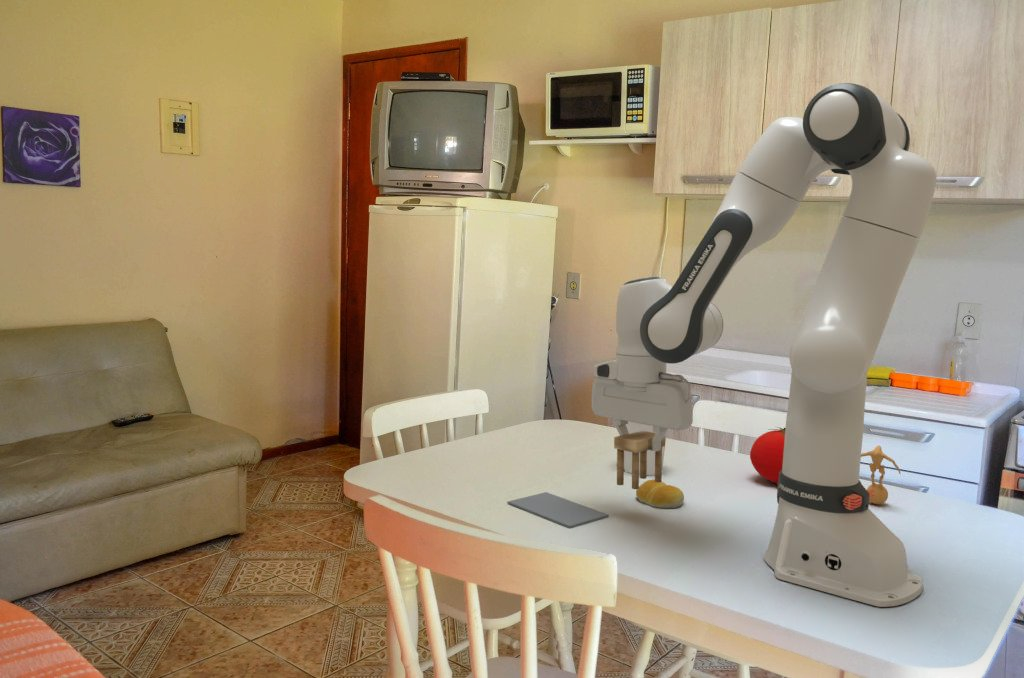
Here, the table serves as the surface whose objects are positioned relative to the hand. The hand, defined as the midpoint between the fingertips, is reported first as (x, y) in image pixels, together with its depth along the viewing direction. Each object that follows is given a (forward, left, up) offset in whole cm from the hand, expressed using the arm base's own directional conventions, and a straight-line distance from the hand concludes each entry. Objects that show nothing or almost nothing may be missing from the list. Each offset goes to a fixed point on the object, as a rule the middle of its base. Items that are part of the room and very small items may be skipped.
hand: (639, 447), depth 145 cm
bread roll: (+3, -11, -13) cm, 17 cm away
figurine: (-23, -44, -13) cm, 51 cm away
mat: (+11, +9, -13) cm, 19 cm away
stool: (0, 0, -6) cm, 7 cm away
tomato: (-4, -43, -13) cm, 45 cm away
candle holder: (+19, -25, -13) cm, 34 cm away
